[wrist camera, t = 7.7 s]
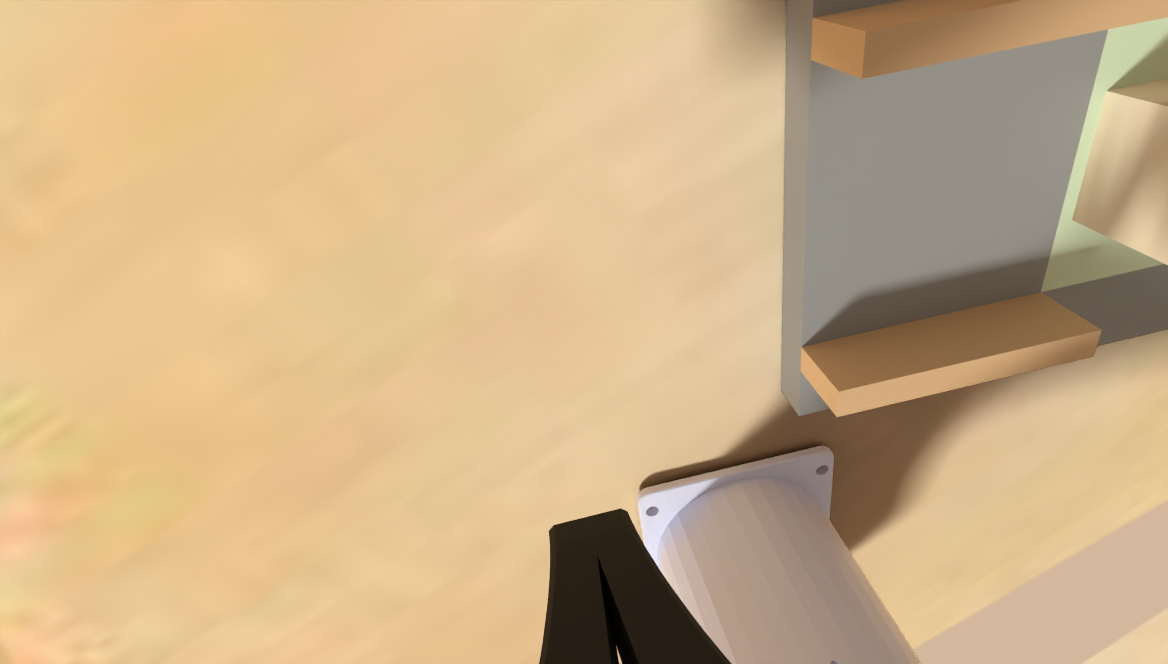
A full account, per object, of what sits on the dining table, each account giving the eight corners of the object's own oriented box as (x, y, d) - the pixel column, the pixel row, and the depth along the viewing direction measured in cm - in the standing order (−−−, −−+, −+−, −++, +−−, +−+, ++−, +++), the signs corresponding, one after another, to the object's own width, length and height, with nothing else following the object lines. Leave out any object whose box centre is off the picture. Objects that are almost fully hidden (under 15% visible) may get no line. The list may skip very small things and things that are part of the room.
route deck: (1266, 278, 26) (1388, 330, 23) (781, 391, 25) (833, 464, 21) (1490, -205, 18) (1728, -235, 15) (788, -76, 17) (873, -76, 13)
